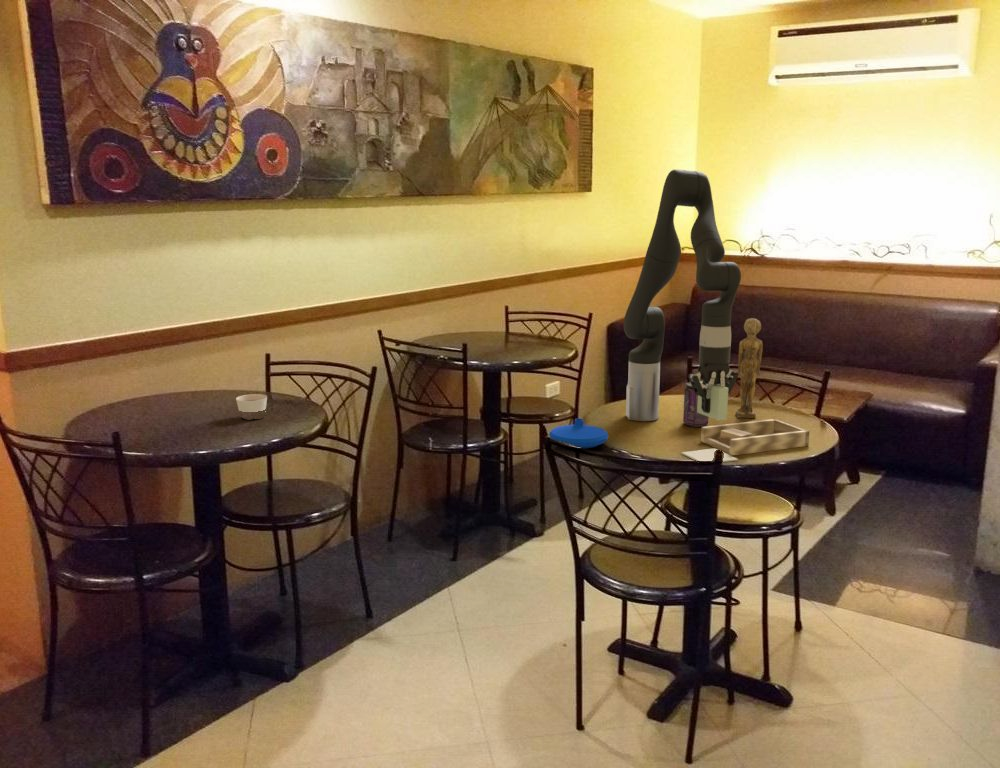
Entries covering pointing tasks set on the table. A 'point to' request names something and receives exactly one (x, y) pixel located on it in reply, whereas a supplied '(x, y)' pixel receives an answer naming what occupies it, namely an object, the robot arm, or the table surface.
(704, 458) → the mat
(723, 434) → the offcut upper
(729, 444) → the offcut lower
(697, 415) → the beverage can
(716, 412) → the block
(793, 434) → the tray
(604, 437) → the blue rounded knobbed disc
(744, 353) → the sculpture
